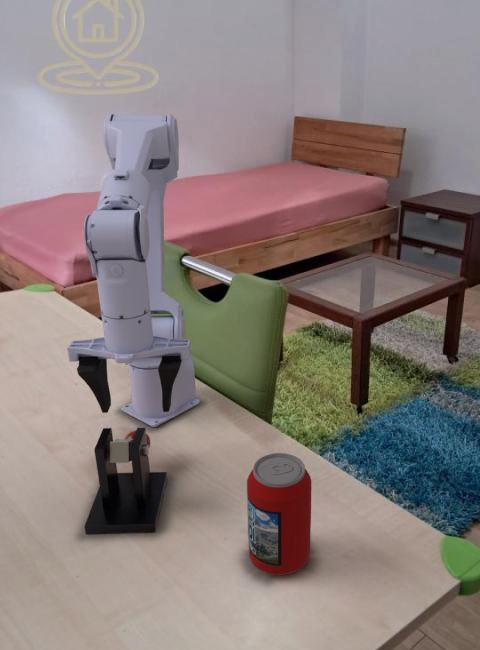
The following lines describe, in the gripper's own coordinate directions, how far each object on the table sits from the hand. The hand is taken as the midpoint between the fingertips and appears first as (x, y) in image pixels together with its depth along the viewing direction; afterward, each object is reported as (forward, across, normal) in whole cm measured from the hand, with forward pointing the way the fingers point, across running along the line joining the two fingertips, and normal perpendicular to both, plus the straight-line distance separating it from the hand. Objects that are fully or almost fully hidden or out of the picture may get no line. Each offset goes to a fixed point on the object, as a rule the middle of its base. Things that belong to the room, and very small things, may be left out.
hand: (136, 408), depth 81 cm
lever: (+5, 0, -5) cm, 7 cm away
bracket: (+9, 0, -8) cm, 12 cm away
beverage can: (+9, +18, -17) cm, 27 cm away
